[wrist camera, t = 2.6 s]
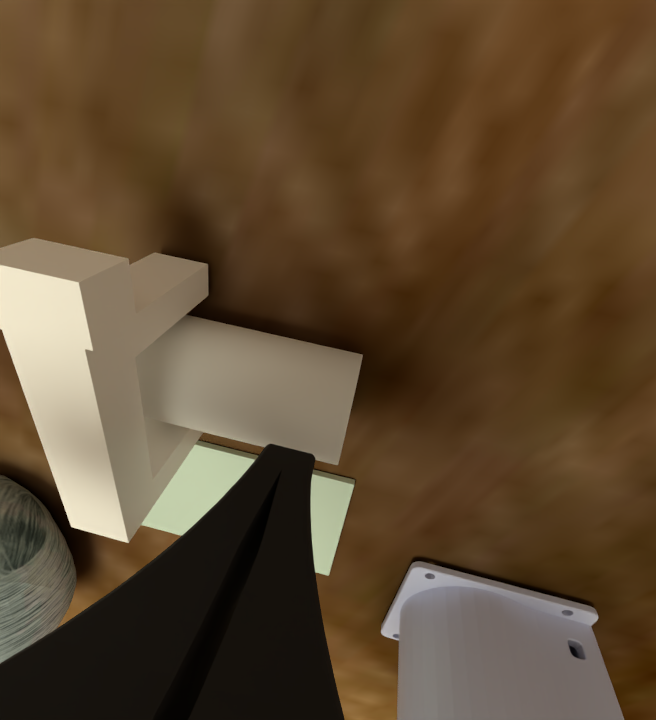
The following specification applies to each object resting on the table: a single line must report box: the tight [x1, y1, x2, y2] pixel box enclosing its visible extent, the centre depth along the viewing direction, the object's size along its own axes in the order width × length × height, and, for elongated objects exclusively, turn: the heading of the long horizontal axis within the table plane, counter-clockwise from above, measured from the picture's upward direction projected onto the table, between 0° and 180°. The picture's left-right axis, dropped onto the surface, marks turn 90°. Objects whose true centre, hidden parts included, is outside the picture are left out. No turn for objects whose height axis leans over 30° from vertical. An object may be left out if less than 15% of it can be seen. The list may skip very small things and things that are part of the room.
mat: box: [141, 440, 355, 576], centre depth 21 cm, size 14×8×1 cm, turn 81°
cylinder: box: [135, 315, 363, 465], centre depth 14 cm, size 10×4×4 cm, turn 81°
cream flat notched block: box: [0, 238, 209, 543], centre depth 13 cm, size 2×9×6 cm, turn 171°
